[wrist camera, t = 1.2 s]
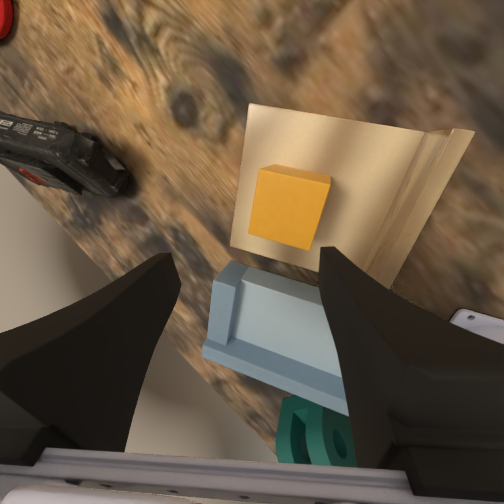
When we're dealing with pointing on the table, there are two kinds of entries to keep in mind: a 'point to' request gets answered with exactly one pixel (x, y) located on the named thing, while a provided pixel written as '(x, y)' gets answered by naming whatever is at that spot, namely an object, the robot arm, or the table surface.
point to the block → (288, 205)
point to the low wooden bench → (349, 184)
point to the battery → (59, 157)
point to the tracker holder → (5, 17)
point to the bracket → (313, 435)
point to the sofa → (274, 334)
